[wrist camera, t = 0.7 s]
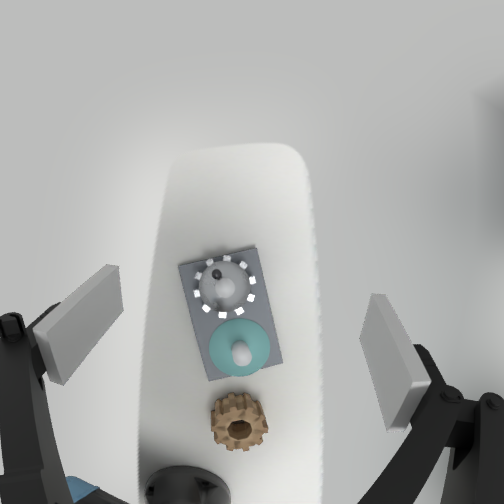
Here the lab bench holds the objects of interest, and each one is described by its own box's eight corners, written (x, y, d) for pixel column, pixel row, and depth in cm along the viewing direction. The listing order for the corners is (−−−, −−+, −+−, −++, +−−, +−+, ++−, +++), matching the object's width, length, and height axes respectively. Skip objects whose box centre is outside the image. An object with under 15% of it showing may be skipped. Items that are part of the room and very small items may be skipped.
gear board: (281, 362, 46) (290, 376, 41) (209, 379, 45) (209, 396, 39) (255, 248, 46) (261, 246, 40) (179, 265, 45) (174, 267, 39)
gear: (263, 294, 45) (269, 299, 40) (214, 324, 44) (215, 332, 39) (233, 244, 44) (236, 243, 39) (184, 274, 44) (180, 277, 39)
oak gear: (267, 428, 46) (272, 444, 41) (219, 439, 45) (220, 456, 40) (256, 386, 46) (260, 400, 41) (205, 398, 45) (204, 413, 40)
